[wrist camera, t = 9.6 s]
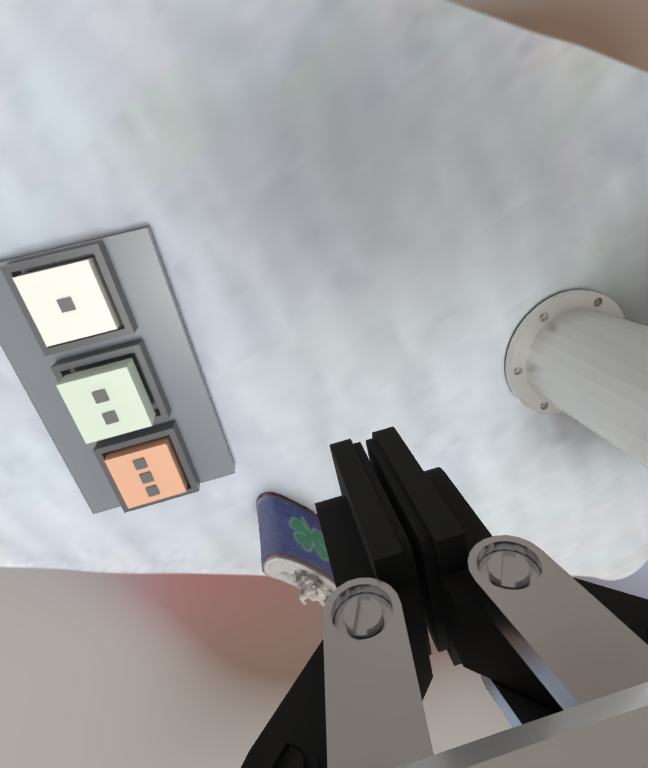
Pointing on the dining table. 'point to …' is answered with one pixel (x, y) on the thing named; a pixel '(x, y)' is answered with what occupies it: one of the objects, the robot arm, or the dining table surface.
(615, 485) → the dining table surface
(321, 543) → the flask
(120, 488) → the tile
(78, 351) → the keypad board
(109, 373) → the tile
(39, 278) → the tile
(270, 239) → the dining table surface
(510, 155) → the dining table surface
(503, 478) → the dining table surface
